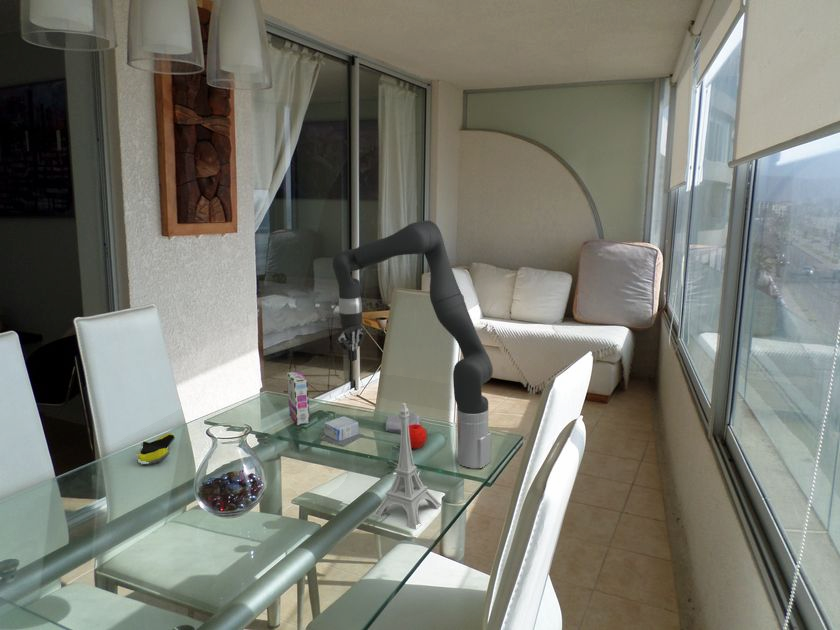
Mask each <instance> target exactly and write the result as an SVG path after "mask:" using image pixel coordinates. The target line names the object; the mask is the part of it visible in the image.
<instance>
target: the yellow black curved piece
mask: <svg viewBox="0 0 840 630" xmlns="http://www.w3.org/2000/svg"><path fill="white" fill-rule="evenodd" d="M175 439H176V438H175V435H174V433H172V432H168V433H165V434H163V435H161V436H160V437H159V438H157V439H155V440H153V441H143V442H140V446H141V447H142V446H143V448H141V449H142V450H141V449H140V452H138V453H135V457H136V458H138V459H140V460H141V461H146V462H149V463H153V464H156V463H155V462H158V463H161V462H162V461H164V460H166V458H168V456H169V454H170V450H169V448H170V446H171V445H172V443H173V442H174V441H175ZM167 447H168V449H166V448H167ZM138 459H137V460H138Z"/></svg>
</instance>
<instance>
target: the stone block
mask: <svg viewBox="0 0 840 630" xmlns="http://www.w3.org/2000/svg"><path fill="white" fill-rule="evenodd" d="M409 414H410V415H409V417H408V425H414V424H418V425H421V416H420V415H419V414H417V413H409ZM399 415H400V414H399ZM399 415H397V414H392V413H391V414H389V415H388V416H386V423H385V432H387V431H389V432H388V433H396V432H397V433H396V434H401V418H400V417H399Z"/></svg>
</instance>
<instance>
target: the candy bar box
mask: <svg viewBox="0 0 840 630" xmlns="http://www.w3.org/2000/svg"><path fill="white" fill-rule="evenodd" d="M286 381H287V392H288V393H287V395H288V409H289V411H288V412H289V416H290V418H291V419H292V420H293V422H294V423H295V424H296V426H304V425H308V423H309V424H311V421H310V420H311V419H310V405H309V403H310V402H309V386H308V385H309V384H308V379H307V377H305V376H304V374H303V373H301V371H300V370H298V371H297V370H296V371H289V372H287V373H286ZM303 424H304V425H303Z"/></svg>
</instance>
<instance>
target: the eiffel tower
mask: <svg viewBox="0 0 840 630" xmlns="http://www.w3.org/2000/svg"><path fill="white" fill-rule="evenodd" d="M410 414H411V413H410V410H409V408H408V407H407V403H405V402H402V404H401V408H400V409H399V417H400V418H401V433H400V442H399V443H400V444H399V455H398V462H397V463H398V464H397V468H395V472H396V474H395V476H394V477H395V478H394V480H393V482H392V484H391V488H389V490H387V491H386V492H385V495H386V497H385V498H384V499H383V500H382V502H381V503H380V504H379V506H378V508H376V510H375V511H374V512H373V514H372V515H371V516H372V517H375V518H377V519H382V518H384V517H385V516H386V515H387V512H386V511H387V509H388V508H389V506H391V505H394V504H395V505H399V506H401V507H402V508H403V510H405V512H406V515H407V518H408V519H407V520H408V522H407V524H408V525H407V526H406V527H407V528H410V529H413V530H417V529H416V525H418V524H421V520H420V517H419V506H420V503H421V501H423V500H424V501H426V502H427V504H428V506H427V507H428V508H431V509H434V510H439V508H441V507H442V505H443V504H442V503H441V502H439V501H438V499H437V498H436V497H435V496H434V495H433V494H432V493H430V491H429V490H427V489H428V486H427V485H424V484H423V483H422V480H421V478H420V476H419V475H418V472H417V471H416V470H417V468H418V465H417V466H416V465H415V462H414V457H413V450H412V448H411V444H410V436H409V425H408V417H409V415H410ZM421 525H422V524H421Z"/></svg>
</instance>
